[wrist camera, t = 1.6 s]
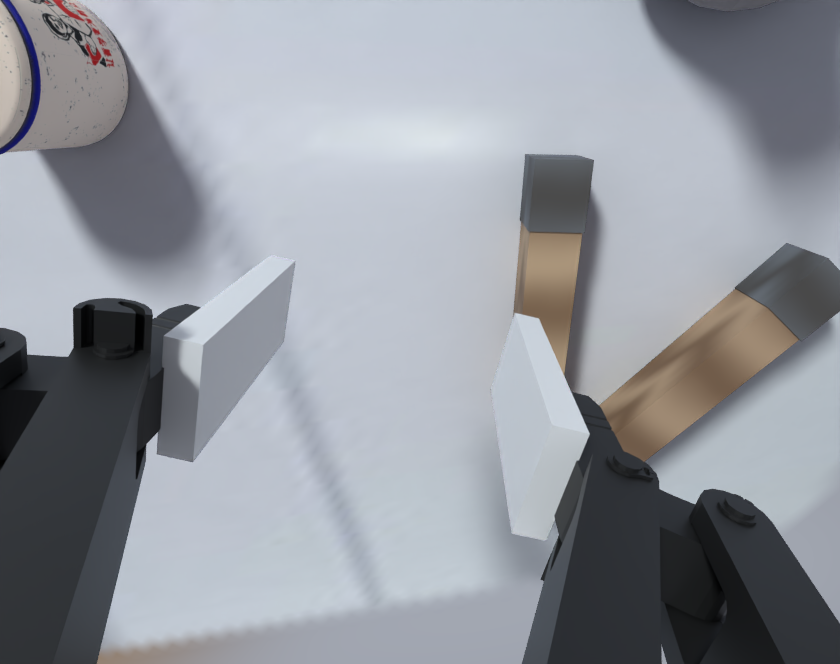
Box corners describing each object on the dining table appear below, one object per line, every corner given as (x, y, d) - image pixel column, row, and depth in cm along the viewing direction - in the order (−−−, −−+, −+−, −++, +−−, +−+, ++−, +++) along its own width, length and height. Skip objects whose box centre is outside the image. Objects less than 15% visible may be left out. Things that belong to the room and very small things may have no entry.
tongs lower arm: (568, 478, 42) (581, 518, 38) (522, 441, 41) (530, 477, 37) (817, 275, 35) (866, 296, 31) (769, 224, 34) (813, 238, 30)
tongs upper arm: (578, 469, 42) (598, 522, 36) (498, 465, 42) (506, 518, 37) (625, 156, 33) (659, 163, 28) (525, 154, 34) (540, 161, 28)
